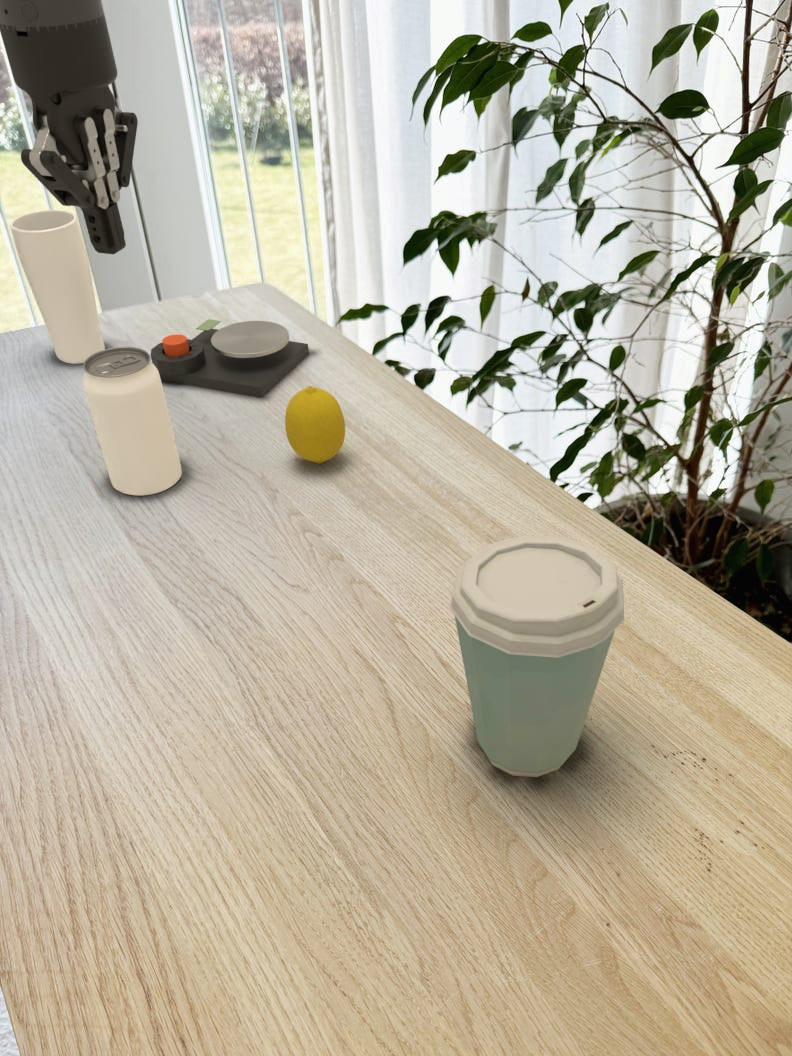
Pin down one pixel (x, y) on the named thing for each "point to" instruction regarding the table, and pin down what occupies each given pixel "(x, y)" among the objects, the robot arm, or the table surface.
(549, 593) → the disposable coffee cup
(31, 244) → the drinking glass
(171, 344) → the tare button
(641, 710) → the table surface
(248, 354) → the weighing pan
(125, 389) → the can
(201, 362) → the scale
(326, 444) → the lemon
